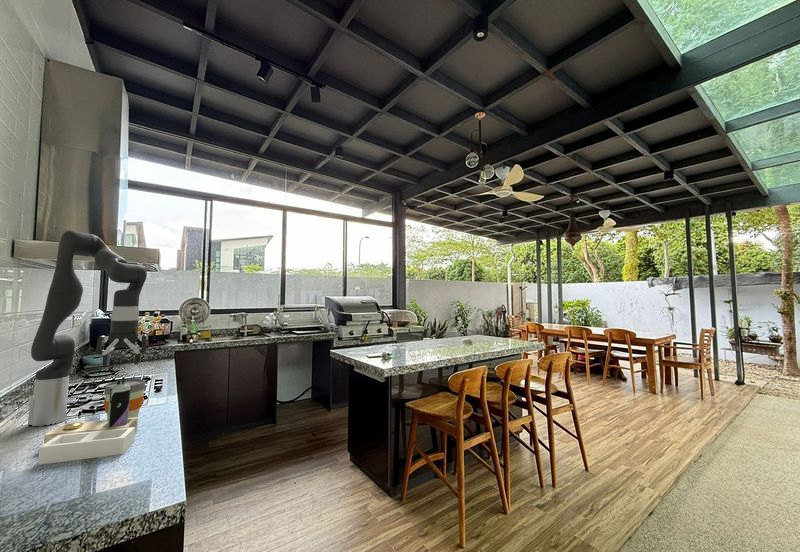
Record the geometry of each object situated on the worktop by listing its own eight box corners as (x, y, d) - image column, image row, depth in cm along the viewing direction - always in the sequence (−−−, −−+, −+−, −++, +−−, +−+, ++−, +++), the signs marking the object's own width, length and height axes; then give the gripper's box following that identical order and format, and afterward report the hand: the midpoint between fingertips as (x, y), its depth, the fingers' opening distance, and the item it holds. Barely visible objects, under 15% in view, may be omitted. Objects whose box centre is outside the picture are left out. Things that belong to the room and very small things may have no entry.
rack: (37, 464, 95) (39, 447, 95) (56, 451, 103) (58, 435, 103) (122, 454, 102) (124, 437, 102) (134, 442, 110) (135, 427, 111)
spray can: (114, 442, 110) (119, 382, 111) (101, 440, 111) (106, 381, 112) (130, 435, 115) (135, 378, 117) (118, 434, 116) (122, 377, 118)
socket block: (43, 451, 103) (44, 434, 103) (60, 439, 111) (61, 424, 112) (126, 441, 111) (128, 426, 111) (137, 431, 119) (138, 417, 120)
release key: (59, 445, 106) (60, 427, 107) (67, 439, 110) (68, 422, 111) (76, 443, 108) (78, 426, 108) (83, 437, 112) (85, 421, 112)
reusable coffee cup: (106, 419, 130) (109, 381, 131) (145, 414, 136) (148, 377, 137) (96, 430, 119) (100, 388, 120) (139, 424, 125) (142, 384, 126)
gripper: (152, 318, 122) (149, 361, 121) (105, 318, 117) (101, 364, 116) (145, 319, 115) (142, 365, 114) (94, 320, 110) (90, 368, 109)
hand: (121, 364), depth 115 cm, fingers open, 8 cm apart
